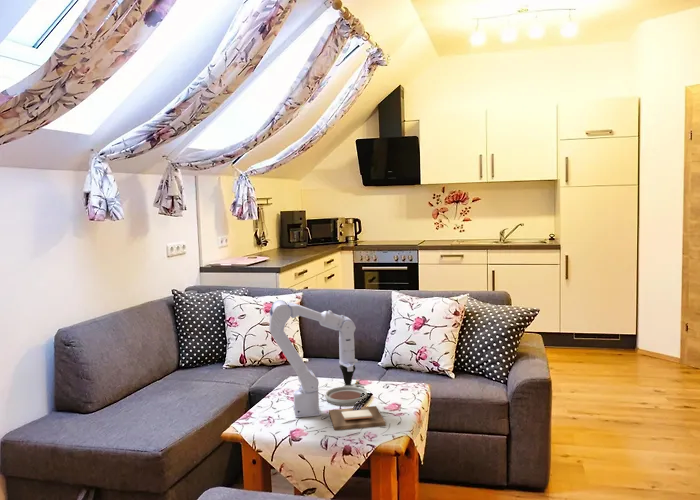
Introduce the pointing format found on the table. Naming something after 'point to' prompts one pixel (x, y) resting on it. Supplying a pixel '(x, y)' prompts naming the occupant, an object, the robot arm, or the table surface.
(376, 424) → the board
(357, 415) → the tile
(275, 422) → the table surface
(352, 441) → the table surface
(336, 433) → the table surface
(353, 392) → the frying pan
